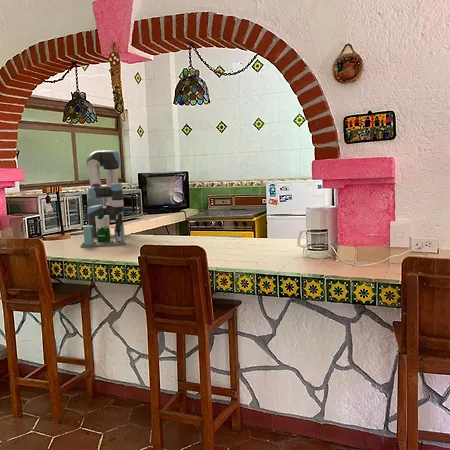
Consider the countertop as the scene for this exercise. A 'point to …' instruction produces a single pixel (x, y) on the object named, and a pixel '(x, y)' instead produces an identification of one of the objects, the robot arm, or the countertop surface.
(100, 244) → the rail
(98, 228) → the milk carton
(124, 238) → the finger free
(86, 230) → the teal rectangular block
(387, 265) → the countertop surface
